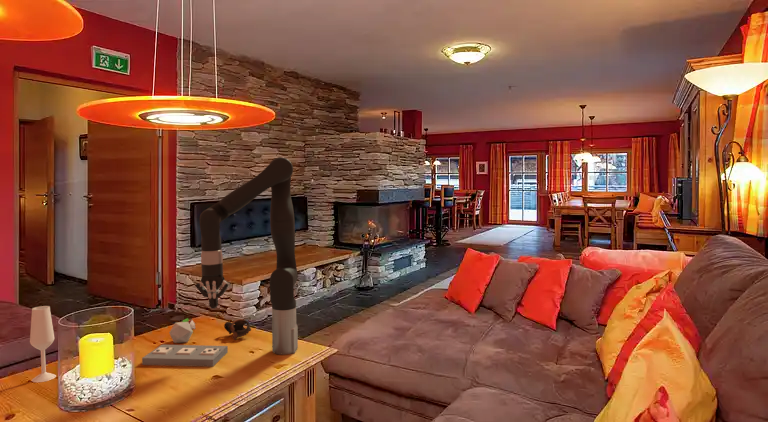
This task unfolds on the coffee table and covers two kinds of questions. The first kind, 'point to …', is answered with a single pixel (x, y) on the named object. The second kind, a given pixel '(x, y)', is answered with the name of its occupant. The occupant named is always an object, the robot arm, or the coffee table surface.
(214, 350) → the three pip tile
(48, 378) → the champagne flute
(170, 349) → the two pip tile
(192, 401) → the coffee table surface
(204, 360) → the button board
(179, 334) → the die
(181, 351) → the one pip tile
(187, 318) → the geometric puzzle
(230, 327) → the pottery mug
